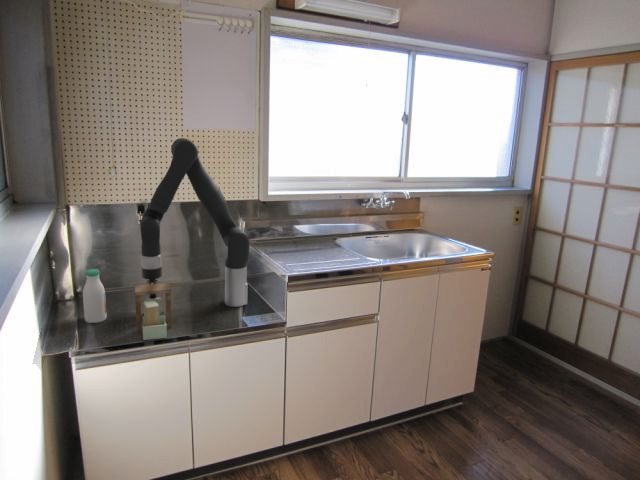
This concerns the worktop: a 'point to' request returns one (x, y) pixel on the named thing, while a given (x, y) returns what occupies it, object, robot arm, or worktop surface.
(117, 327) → the worktop surface
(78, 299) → the worktop surface
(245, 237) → the robot arm
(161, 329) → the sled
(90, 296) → the milk bottle
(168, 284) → the tunnel
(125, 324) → the worktop surface
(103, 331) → the worktop surface
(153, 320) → the skincare box
